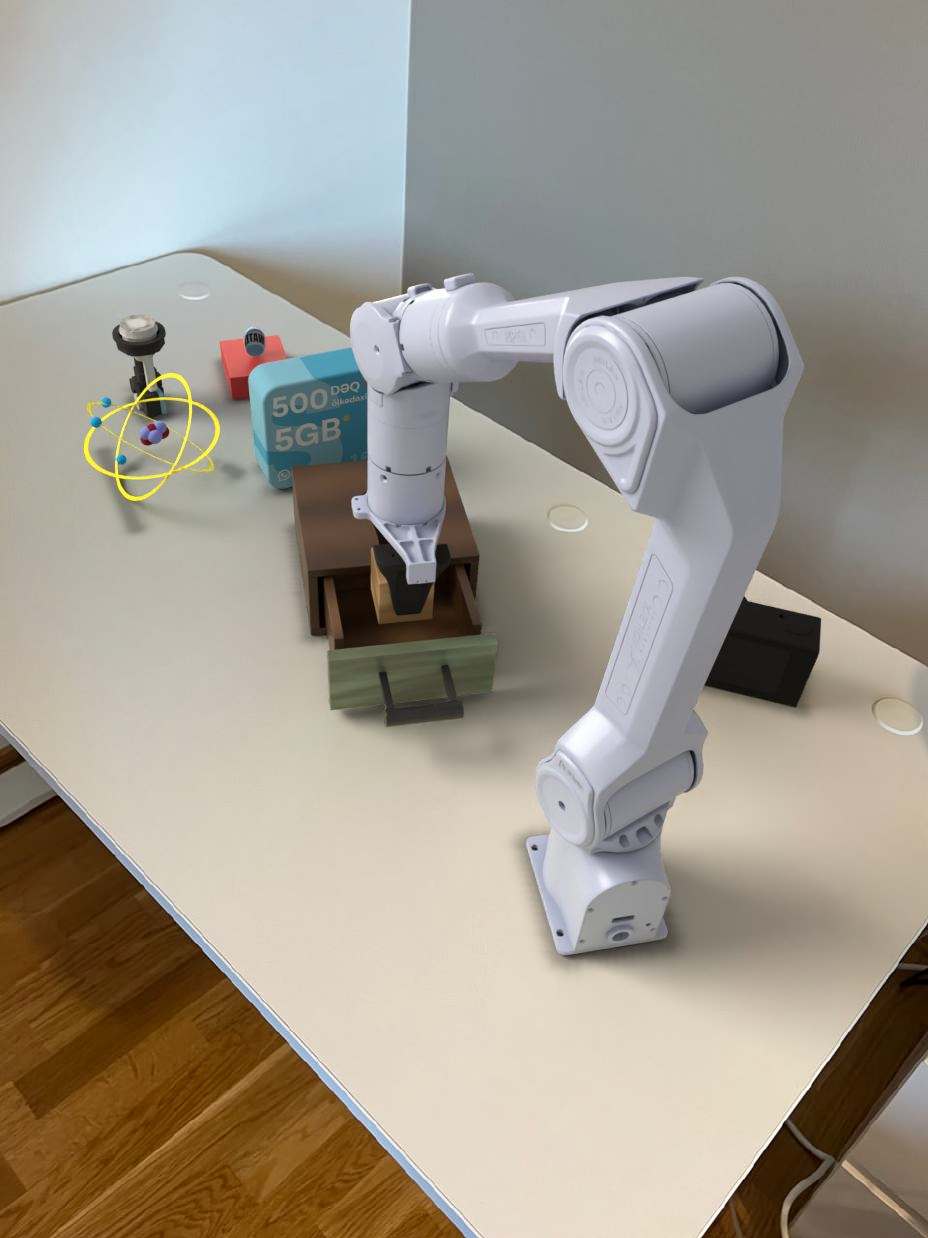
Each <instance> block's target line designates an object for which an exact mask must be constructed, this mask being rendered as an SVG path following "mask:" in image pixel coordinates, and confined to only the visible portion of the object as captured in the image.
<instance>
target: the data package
mask: <svg viewBox="0 0 928 1238" xmlns="http://www.w3.org/2000/svg"><path fill="white" fill-rule="evenodd" d="M248 383H249V394H250V398H249V403H250V416H251V426H252V439H253V449H254V458H255V461H256V462H257V464H258V466H259V468H260V469H261V471H262V474H263V475H264V477H265V478H266V480H267V482H268V483H269V484H270V485H271V487H273V488H274V489H278V490H284V489H285V490H286V489H289V488H293V486H292V470H291V467H292V466H301V465H316V464H330V463H344V462H358V461H368V383H367V382H366V380H365V379H364V377H363V376H362V374H361V372H360V370H359V368H358V366H357V363H356V360H355V357H354V354H353V350H352V346H351V347H344V348H339V349H333V350H330V351H329V350H328V351H322V352H319V353H313V354H307V355H302V356H296V357H291V358H287V359H285V360H280V361H274V362H269V363H264V364H261V365H258V366H257V367H255V368H254V369H253V370H252V372H251V373H250V375H249V380H248Z"/></svg>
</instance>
